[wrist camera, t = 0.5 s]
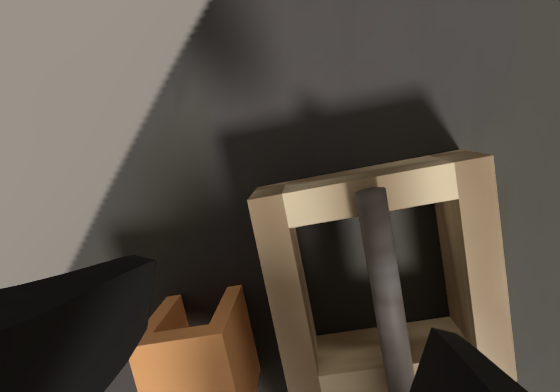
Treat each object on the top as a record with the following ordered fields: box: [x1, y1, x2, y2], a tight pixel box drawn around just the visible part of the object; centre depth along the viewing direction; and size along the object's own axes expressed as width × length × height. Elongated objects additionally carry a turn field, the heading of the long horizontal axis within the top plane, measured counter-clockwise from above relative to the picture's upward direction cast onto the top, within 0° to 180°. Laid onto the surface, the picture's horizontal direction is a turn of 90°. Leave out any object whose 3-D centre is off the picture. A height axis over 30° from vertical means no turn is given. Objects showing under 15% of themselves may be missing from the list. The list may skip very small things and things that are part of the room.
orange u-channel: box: [129, 285, 261, 392], centre depth 19 cm, size 4×5×5 cm
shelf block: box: [247, 150, 517, 392], centre depth 18 cm, size 10×10×5 cm
